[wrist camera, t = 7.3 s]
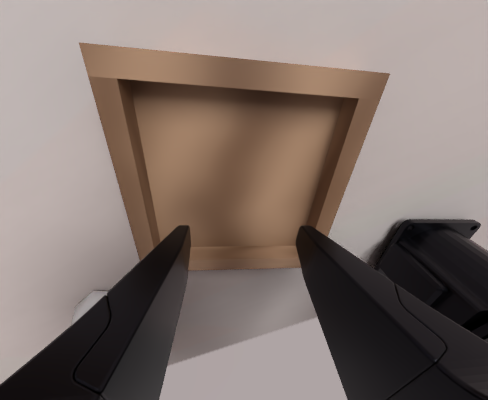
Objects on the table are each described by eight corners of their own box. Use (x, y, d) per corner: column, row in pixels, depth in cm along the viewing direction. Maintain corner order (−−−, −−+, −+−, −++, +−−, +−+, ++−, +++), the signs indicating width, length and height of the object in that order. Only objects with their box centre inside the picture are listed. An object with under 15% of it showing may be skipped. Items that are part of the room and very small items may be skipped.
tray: (361, 74, 10) (389, 73, 8) (305, 247, 16) (315, 267, 15) (106, 49, 9) (78, 42, 7) (152, 249, 15) (143, 271, 13)
